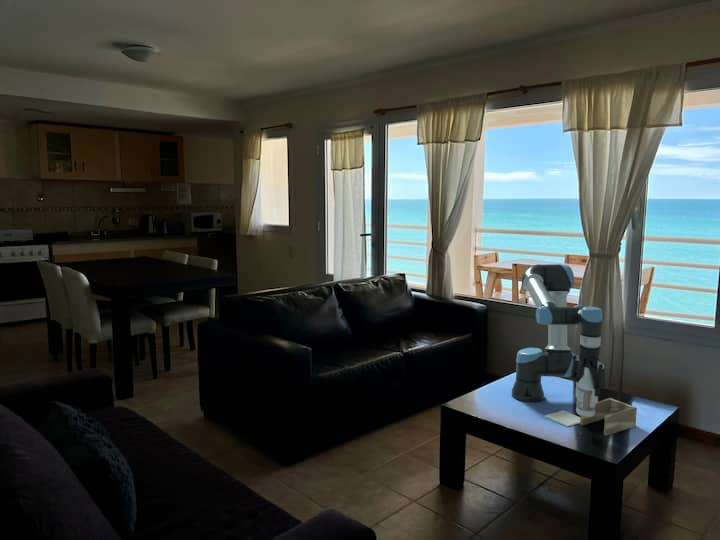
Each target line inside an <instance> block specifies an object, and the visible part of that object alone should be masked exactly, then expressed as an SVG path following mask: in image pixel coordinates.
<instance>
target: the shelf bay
mask: <svg viewBox="0 0 720 540" xmlns="http://www.w3.org/2000/svg"><path fill="white" fill-rule="evenodd" d="M637 410H638V408H637V407H636V406H634V405H630V404H628V403H625V402H622V401H619V400H616V399H614V398H612V397H609V398H605V399H603V400H598V403H595V414H594V416H592V417H584V416H581V415H580V417H581V418H580V423H579V425H581V426H585V425H588V424H592V423H594V422H597V421H601V420H604V423H603V425H604V426H603V435H604V436H610V435H613V434H615V433H619V432H622V431H625V430H627V429H630V428H633V427H635V426H636V425H637V413H638V412H637Z"/></svg>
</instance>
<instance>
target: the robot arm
mask: <svg viewBox="0 0 720 540" xmlns="http://www.w3.org/2000/svg"><path fill="white" fill-rule="evenodd" d="M521 284H522V287H523V289H524V290H526V292H528V293H529V295H530V297H531V299H532V301H533V303H534V305H535V307H536V310H535V319H536V320H535V321H536V322H537V324H539V325H544V326H545V325H546V326H548V327H547V330H548V332H547V333H548V336H547V338H548V344H547V345H546V347H545V348H544V351H543V350H542V349H541V348H538V347H527V348H526V347H525V348H523V349H520V350H518V352H517V353H516V354H517V355H516V359H515V361H516V363H515V364H516V367H515V368H516V369H515V381H514V384H513V387H512V389H511V397H513V398H514V399H515V400H516V399H517V400H518V401H522V402H527V403H528V402H529V403H535V402H536V403H537V402H542V401H544V399H545V391H544V389H543V385H542V377H553V378H554V377H556V378H557V377H559V378H564V377H565V378H567V377H570V379H573V380H574V389H575V396H574V397H575V398H577V391H578V383H579V381H580V379H581V378H582V377H583V376H584V368H585V367H587V368H589V370H590V372H591V375H592V379H593V383H594V388H593V389H592V404H595V403H598V401H599V397H600V395H601V389H604V388H606V370H605V369H606V366H607V365H606V363H602V362H600V360H599V357H600V354H601V353H600V352H601V347H600V346H601V341H602V340H601V337H602V327H603V325H602V324H603V310H602V308H600V307H596V306H591V305H590V306H584V305H580V304H577V305H573V306H567V305H568V304H567V302H568V301H567V300H568V299H567V297H568V295H569V293H571V290H572V289H573V288H574V287H575V274H574V272H573V269H572V268H571V266H569V265H567V264H562V263H561V264H560V263H559V264H557V263H556V264H551V263H550V264H539V263H538V264H534V265H531V266H530V267H528V268H526V270H525V271H524V272H523V274H522V276H521ZM568 326H580V336H579V337H580V338H579V344H580V345H579V350H578V352H579V354H576V355H575V353H574V352H572V349H571V348H570V347H569V346H568Z"/></svg>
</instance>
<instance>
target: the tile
mask: <svg viewBox="0 0 720 540" xmlns="http://www.w3.org/2000/svg"><path fill="white" fill-rule="evenodd" d="M544 417H545V418H547V420H550V421H553V422H555V423H557V424H559V425H562V426H563V427H566V428H570V427H573V426H575V425H578V424H579V425H580V418H581V416H577V415H576V414H573V413H570V412H569V411H566V410H564V409H563V410H559V411H556V412H553V413H549V414H546V415H544Z"/></svg>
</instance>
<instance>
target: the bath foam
mask: <svg viewBox="0 0 720 540" xmlns="http://www.w3.org/2000/svg"><path fill="white" fill-rule="evenodd" d="M593 388H594V383H593V379H592V375H591V372H590V370H589V368H587V367H585V368H584V373H583V375H582V378H581V379H580V381H579V383H578V391H577V397H576V409H575V411H576V413H577V414H578V415H579V416H580V417H581V416H584V417H592V416H594V414H595V404H592V389H593Z"/></svg>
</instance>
